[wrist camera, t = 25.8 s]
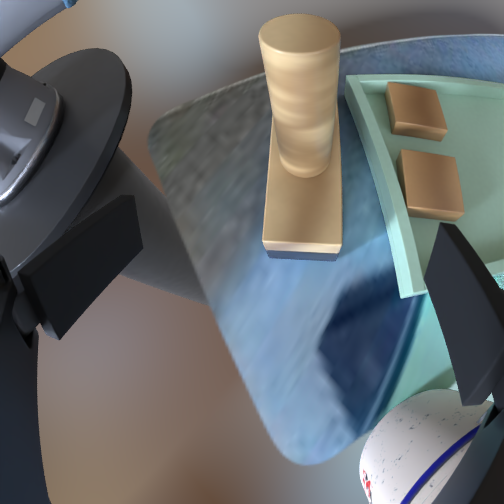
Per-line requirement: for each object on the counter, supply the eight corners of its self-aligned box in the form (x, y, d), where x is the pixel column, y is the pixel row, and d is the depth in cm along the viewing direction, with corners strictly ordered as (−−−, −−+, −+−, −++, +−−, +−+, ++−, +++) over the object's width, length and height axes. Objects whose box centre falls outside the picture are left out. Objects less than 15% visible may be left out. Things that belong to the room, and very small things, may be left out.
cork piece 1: (391, 134, 19) (395, 121, 17) (384, 94, 20) (387, 81, 18) (441, 142, 18) (448, 130, 17) (430, 102, 19) (435, 89, 18)
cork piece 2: (400, 216, 17) (407, 207, 16) (395, 160, 18) (401, 148, 17) (455, 222, 16) (465, 213, 15) (447, 167, 17) (455, 157, 16)
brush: (268, 258, 19) (218, 144, 7) (278, 123, 21) (253, -19, 10) (335, 261, 18) (380, 148, 7) (333, 125, 20) (341, -19, 9)
